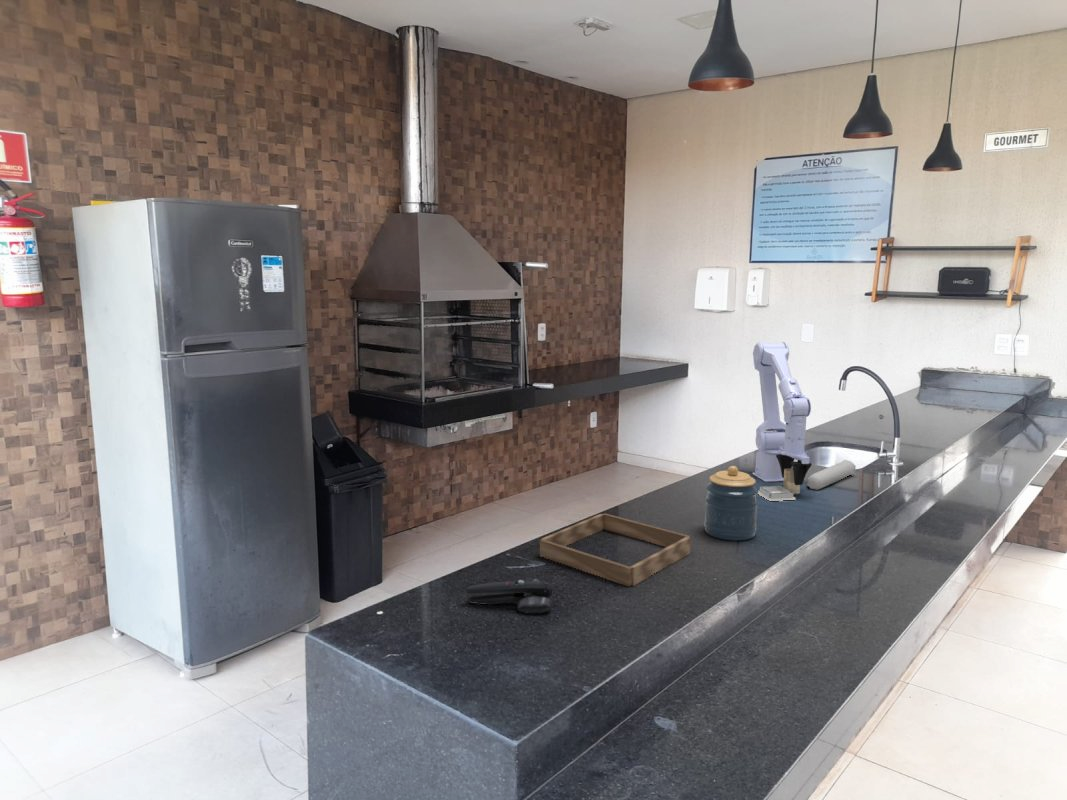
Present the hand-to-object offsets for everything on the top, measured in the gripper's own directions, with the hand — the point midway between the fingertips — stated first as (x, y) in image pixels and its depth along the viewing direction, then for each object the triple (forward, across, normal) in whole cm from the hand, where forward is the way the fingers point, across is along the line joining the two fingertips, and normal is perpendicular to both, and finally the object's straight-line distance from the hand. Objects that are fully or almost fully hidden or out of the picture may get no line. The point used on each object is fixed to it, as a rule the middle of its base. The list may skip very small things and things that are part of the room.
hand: (792, 481), depth 223 cm
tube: (+4, -8, +18) cm, 20 cm away
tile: (+3, +4, -7) cm, 9 cm away
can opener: (+4, +63, -94) cm, 113 cm away
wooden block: (+3, 0, 0) cm, 4 cm away
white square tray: (+3, +4, -7) cm, 9 cm away
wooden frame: (+4, +40, -66) cm, 77 cm away
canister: (+4, +30, -33) cm, 45 cm away
